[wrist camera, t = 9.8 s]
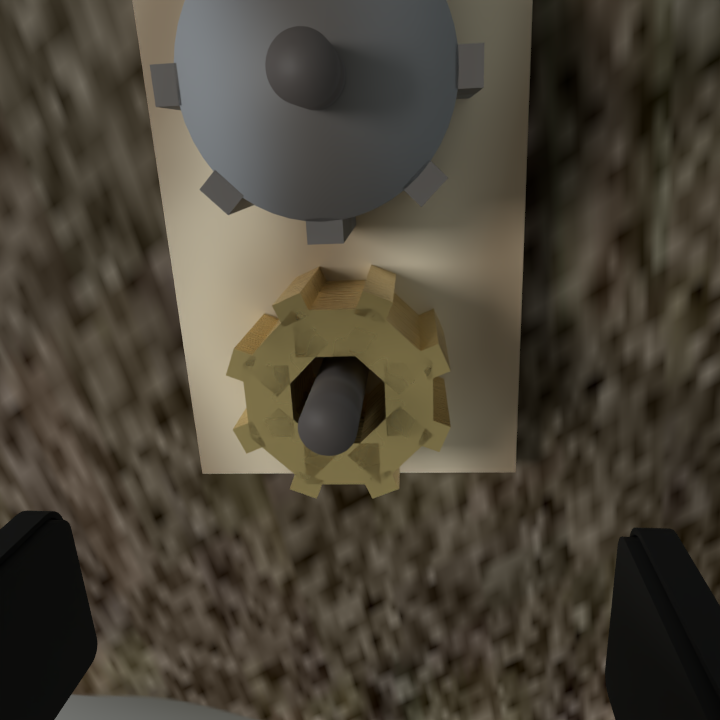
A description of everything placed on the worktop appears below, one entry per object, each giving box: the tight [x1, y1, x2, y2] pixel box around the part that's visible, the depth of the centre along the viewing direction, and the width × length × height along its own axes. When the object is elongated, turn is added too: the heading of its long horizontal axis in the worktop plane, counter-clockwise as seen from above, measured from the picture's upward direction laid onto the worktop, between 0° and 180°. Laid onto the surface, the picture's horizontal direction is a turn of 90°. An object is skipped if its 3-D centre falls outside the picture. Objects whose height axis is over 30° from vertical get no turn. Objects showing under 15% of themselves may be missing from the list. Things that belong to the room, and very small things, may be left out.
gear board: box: [132, 0, 533, 474], centre depth 19 cm, size 12×18×7 cm, turn 3°
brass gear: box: [226, 265, 451, 499], centre depth 20 cm, size 7×7×4 cm
